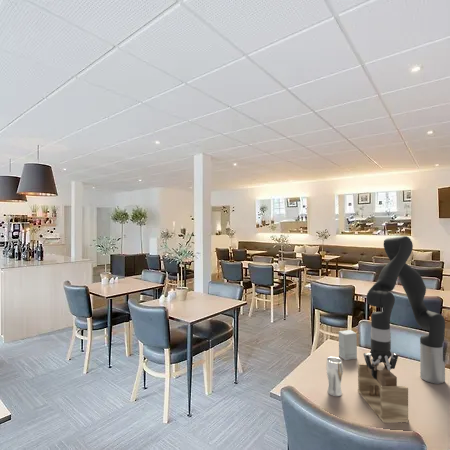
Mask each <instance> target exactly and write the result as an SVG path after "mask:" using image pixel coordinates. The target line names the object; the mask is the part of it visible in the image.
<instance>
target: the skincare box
mask: <svg viewBox="0 0 450 450" xmlns="http://www.w3.org/2000/svg"><path fill="white" fill-rule="evenodd" d="M357 335H358V333H356V332H355V331H353V330H351V329H347V330H340V331H339V330H338V356H339V357H340V359H343V360H344V361H348V360H354V359H358V348H357V347H358V344H357V343H358V340H357V339H358V336H357Z"/></svg>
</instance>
